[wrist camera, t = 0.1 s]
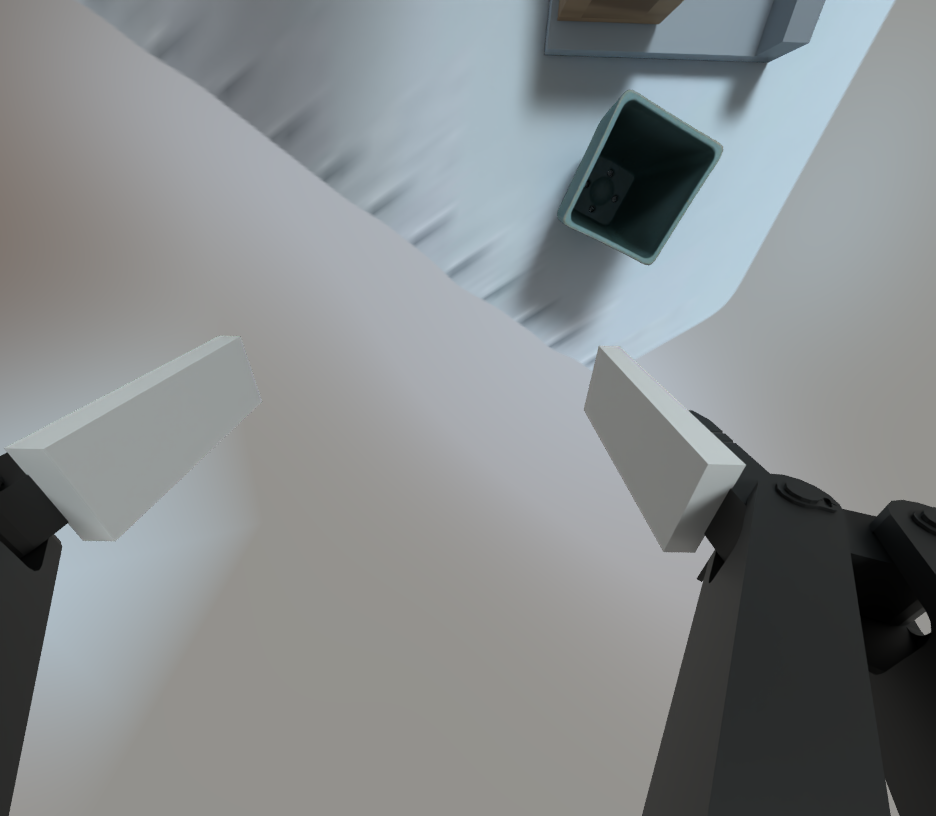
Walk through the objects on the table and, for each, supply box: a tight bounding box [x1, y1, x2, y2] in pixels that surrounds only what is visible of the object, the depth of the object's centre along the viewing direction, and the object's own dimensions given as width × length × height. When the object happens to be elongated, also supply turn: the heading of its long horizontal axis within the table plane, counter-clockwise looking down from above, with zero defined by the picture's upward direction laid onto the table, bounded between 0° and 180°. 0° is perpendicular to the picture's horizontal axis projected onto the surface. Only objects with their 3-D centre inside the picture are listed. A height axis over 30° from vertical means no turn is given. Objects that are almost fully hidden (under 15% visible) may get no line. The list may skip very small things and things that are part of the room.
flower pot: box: [557, 90, 723, 265], centre depth 30 cm, size 9×9×9 cm
